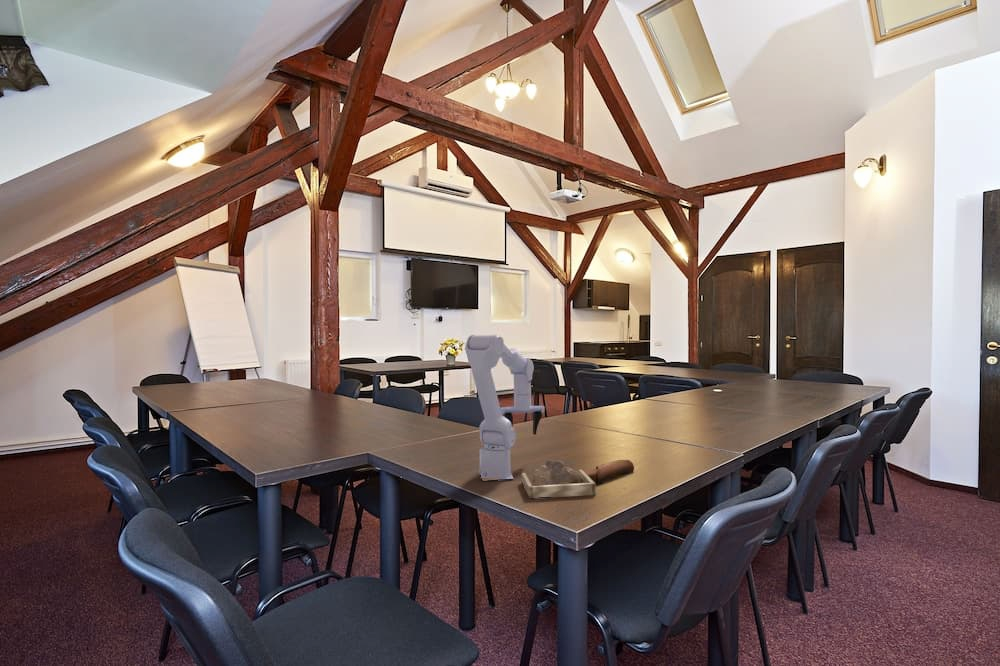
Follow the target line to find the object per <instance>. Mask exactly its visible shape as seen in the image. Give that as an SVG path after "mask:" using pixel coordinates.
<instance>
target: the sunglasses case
mask: <svg viewBox="0 0 1000 666" xmlns="http://www.w3.org/2000/svg"><path fill="white" fill-rule="evenodd" d="M634 471H635V465H634V463H633V462H632V461H631V460H629V459H618V460H613V461H609V462H607V463H603V464H602V463H601V464H600V465H596V466H595V468H593V469H590V470H588V471H586V472H585V473H586V474H587V475H588V476H589V477H590V478H591V480H592V481H593V482H594V483H595V484H596V485H599V484H601V483H603V482H605V481H607V480H609V479H612V478H614V477H617V476H620V475H622V474H626V473H629V472H634Z"/></svg>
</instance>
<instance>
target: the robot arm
mask: <svg viewBox="0 0 1000 666" xmlns="http://www.w3.org/2000/svg"><path fill="white" fill-rule="evenodd" d="M464 350H465V354H466V358H467V362H468V365H469V366H470V368H471V374H472V377H473V381H474V385H475V388H476V393H477V395H478V399H479V404H480V406H481V410H482V414H483V418H484V419H483V420H482V421H481V422H480V424H479V426H478V427H479V428H478V429H479V439H480V442H481V444H482V445H483V448H479V467H478V473H479V476H480V475H481V477H480V479H481V478H495V479H513V480H514V477H513V474H512V471H511V448H513V446H514V445H515V443H516V438H517V433H516V429H515V428H514V424H513V423H514V416H513V414H530V413H532V433H533V435H537V431H538V427H539V423H540V421H541V419H542V417H543V413H545V410H546V407H545V406H544V405H532V385H531V384H532V383H531V381H532V380H533V373H534V369H535V366H534V363H533V361H532V359H530V358H529V357H528V358H525V357H524V356H523V355H522V354H520V353H519V352H518V350H517V349H516V348H508V346H507V345H506V344H505V342H504V338H503V337H502V336H501V335H499V334H494V335H493V334H485V335H484V334H483V335H480V334H477V335H476V334H471V335H469V336H468V338H467V340H466V343H465V347H464ZM500 359H501V362H502V364H503V365H505V366H506V367H507V368H508V370H509V371H510V374H511V375H513V406H505V407H504V406H503V407H501V405H500V402H499V397H498V395H497V394H498V393H497V388H496V387H495V386H496V385H495V382H494V378H493V374H492V369H493V368H495V367H496V366H497V365H498V363H499V360H500ZM484 473H486V475H484Z"/></svg>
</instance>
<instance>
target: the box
mask: <svg viewBox="0 0 1000 666" xmlns="http://www.w3.org/2000/svg"><path fill="white" fill-rule="evenodd" d="M578 473H579V474H580V477H581V480H582V481H581V483H577V482H576V483H563V484H562V483H559V484H557V485H542V486H534V485H533V483H531V481H530V478H529V477H528V476H527V474H526V472H521V484H522V483H523V485H524V487H523V488H525V489H524V491H525V490H526V491H525V493H526V492H527V493H526V494H528V495H527V497H528V496H529V497H528V498H535V499H540V498H539V497H551V498H564V497H565V498H566V497H580V496H581V497H582V496H594V495H595V496H596V495H597V494H596V493H597V492H596V489H597V488H596V485H597V484H595V483H594V482H593V481H592V480H591V478H590V477H589V476H588V475H587V474H586V472H585V471H584V470H583V469H578ZM523 485H522V486H523ZM537 497H538V498H537Z"/></svg>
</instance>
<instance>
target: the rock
mask: <svg viewBox="0 0 1000 666" xmlns="http://www.w3.org/2000/svg"><path fill="white" fill-rule="evenodd" d="M581 481H582V480H581V477H580V474H579V471H576V470H574V469H572V468H570V467H567V466H566V464H565V461H564V462H563V461H562V460H556V461H554V462H553V461H552V460H547V461H546V463H545V464H543V465H540V466H539V467H538V468H537V469H535V470H534V472H533V475H532V479H531V482H532V486H542V485H560V484H562V483H563V484H564V483H568V482H575V483H576V484H577V483H581Z"/></svg>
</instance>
